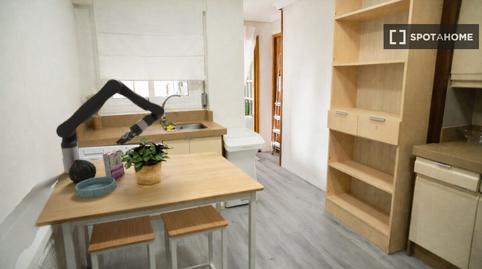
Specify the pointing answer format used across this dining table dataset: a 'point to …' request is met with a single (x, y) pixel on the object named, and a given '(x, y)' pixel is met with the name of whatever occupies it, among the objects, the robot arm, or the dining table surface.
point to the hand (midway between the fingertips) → (118, 143)
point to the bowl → (95, 187)
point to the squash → (81, 170)
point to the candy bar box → (113, 164)
